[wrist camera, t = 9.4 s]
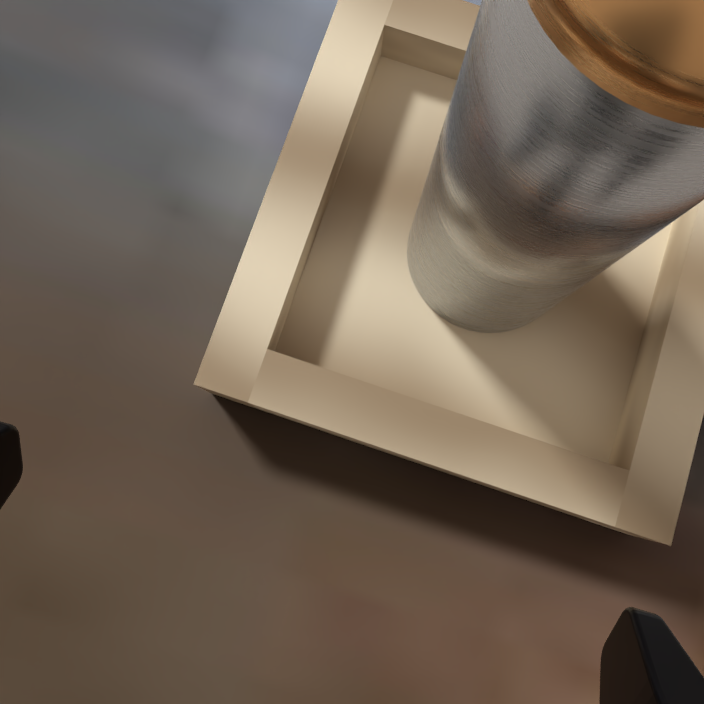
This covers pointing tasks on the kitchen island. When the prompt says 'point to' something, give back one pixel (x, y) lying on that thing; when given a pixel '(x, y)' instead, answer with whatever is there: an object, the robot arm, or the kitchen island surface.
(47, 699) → the kitchen island surface
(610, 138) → the lidded storage canister
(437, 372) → the shallow square beige tray
